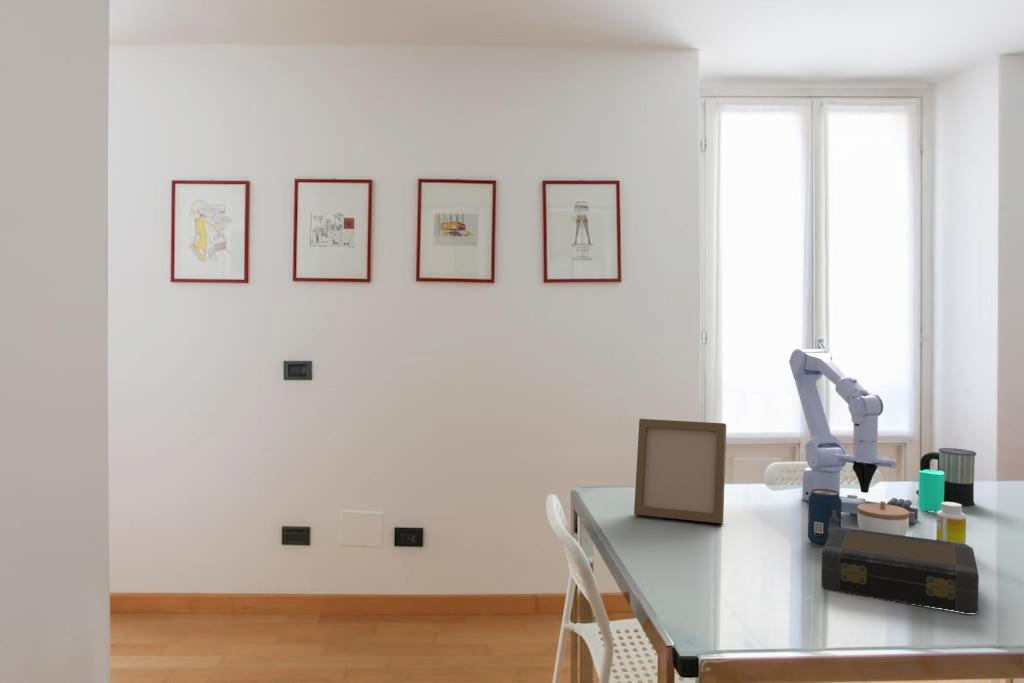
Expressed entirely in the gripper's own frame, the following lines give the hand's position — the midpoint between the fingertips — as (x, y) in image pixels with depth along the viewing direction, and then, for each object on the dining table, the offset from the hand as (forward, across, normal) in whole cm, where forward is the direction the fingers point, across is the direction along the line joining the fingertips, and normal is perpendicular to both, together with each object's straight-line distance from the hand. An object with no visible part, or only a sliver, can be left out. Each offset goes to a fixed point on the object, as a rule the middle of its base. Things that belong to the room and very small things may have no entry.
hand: (864, 491), depth 187 cm
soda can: (+6, -1, -34) cm, 34 cm away
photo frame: (+6, -37, -32) cm, 49 cm away
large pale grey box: (+6, +4, 0) cm, 7 cm away
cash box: (+7, +17, -52) cm, 55 cm away
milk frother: (+6, +15, +28) cm, 32 cm away
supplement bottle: (+6, +22, -20) cm, 30 cm away
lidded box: (+3, -1, -7) cm, 7 cm away
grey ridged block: (+3, +8, 0) cm, 8 cm away
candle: (+6, +13, +17) cm, 22 cm away
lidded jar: (+6, +9, -24) cm, 26 cm away
